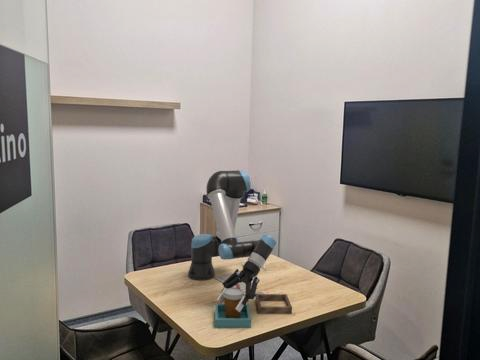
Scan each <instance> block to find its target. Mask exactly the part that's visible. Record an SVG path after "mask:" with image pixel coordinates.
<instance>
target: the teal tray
mask: <svg viewBox="0 0 480 360" xmlns="http://www.w3.org/2000/svg"><path fill="white" fill-rule="evenodd" d="M214 309H215V310H214V328H215V329H216V328H217V329H219V328H222V329H223V328H225V329H226V328H234V329H235V328H237V329H238V328H239V329H241V328H243V329H244V328H246V329H247V328H252V317H251V311H250V305H249V303H246V305H245V306H243V308H242V310H241V313H240V318H226V315H225V303H216V304H215V306H214Z"/></svg>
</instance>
